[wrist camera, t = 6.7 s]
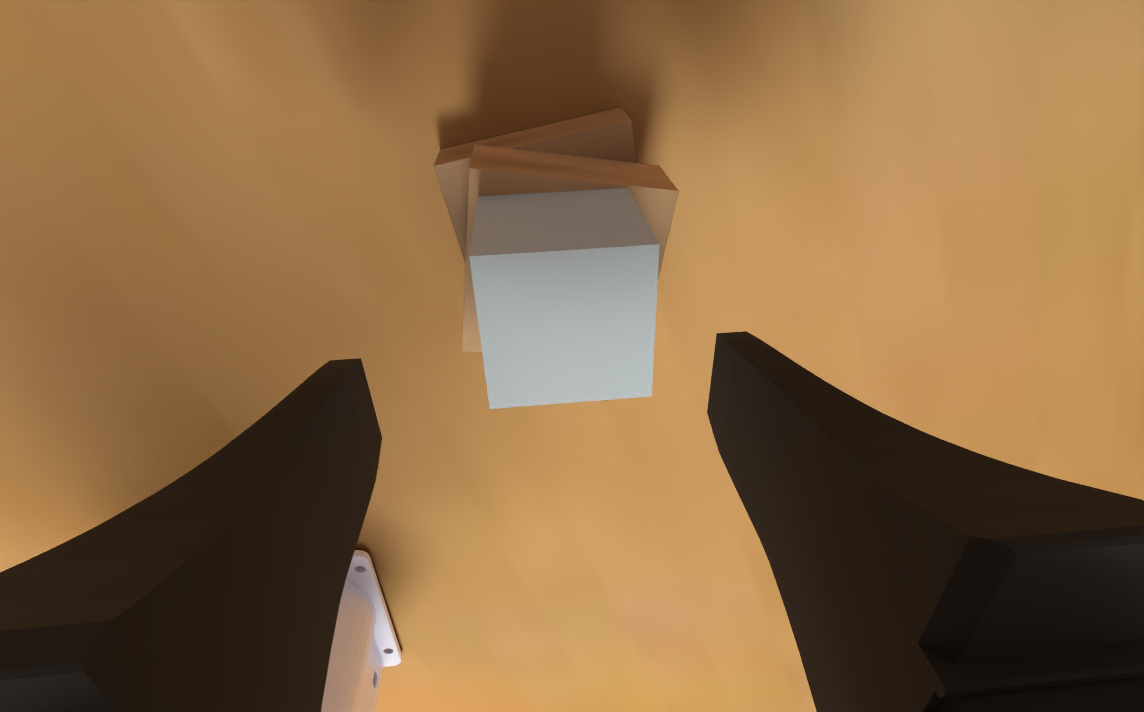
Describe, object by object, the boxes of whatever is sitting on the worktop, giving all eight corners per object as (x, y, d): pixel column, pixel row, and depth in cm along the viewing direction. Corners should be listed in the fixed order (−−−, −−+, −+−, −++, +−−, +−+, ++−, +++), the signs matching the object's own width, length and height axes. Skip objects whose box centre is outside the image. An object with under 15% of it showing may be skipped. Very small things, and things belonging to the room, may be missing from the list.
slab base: (643, 267, 23) (656, 297, 21) (491, 301, 23) (489, 334, 21) (618, 103, 19) (631, 119, 17) (442, 145, 20) (433, 166, 18)
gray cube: (625, 318, 18) (651, 396, 15) (493, 327, 18) (489, 409, 14) (627, 187, 16) (659, 244, 12) (477, 196, 16) (469, 256, 12)
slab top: (626, 323, 21) (638, 362, 19) (467, 312, 20) (462, 351, 18) (659, 165, 18) (678, 190, 16) (474, 144, 17) (469, 168, 15)
